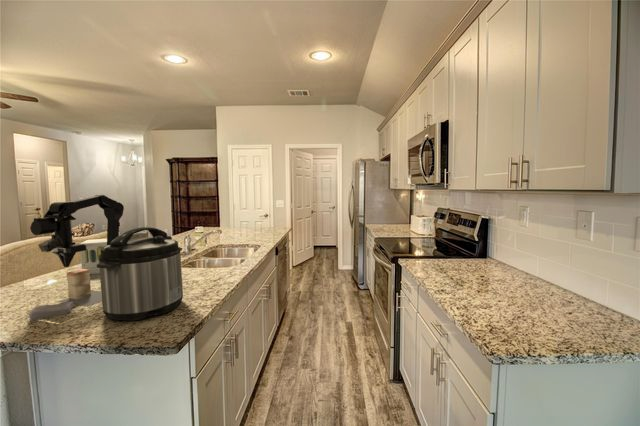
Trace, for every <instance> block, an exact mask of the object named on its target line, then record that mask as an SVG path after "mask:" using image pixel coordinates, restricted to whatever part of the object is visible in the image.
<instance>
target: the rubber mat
mask: <svg viewBox="0 0 640 426" xmlns="http://www.w3.org/2000/svg"><path fill="white" fill-rule="evenodd" d="M63 302H73V304H74V306H75V305H76V306H81V307H82V306H84V307H92V306H94V305H97V304H99V303H102V293H101V291H99V290H93V289H91V295H88V296H85V297H82V298H79V299H71V298H69V297H68V298H64V299H61V300H58V301H57V303H63Z"/></svg>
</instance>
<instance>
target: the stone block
mask: <svg viewBox="0 0 640 426" xmlns="http://www.w3.org/2000/svg"><path fill="white" fill-rule="evenodd" d="M74 307H75V304H73V302H59V303H56V304H42V305H36V306H34V307H33V308H32V309H31V310H30V311H29V312H28V313H29V314H28V315H29V316H28V317H29V320H30V322H35V321H40V320H41V321H42V320H43V319H44V318H50V317H56V316H57V317H58V316H62V315H67V314H70V313H72V309H74Z"/></svg>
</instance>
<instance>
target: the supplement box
mask: <svg viewBox="0 0 640 426" xmlns="http://www.w3.org/2000/svg"><path fill="white" fill-rule="evenodd" d="M79 244H84V245H86V248H87V250H85V251H80V263H81V269H88V270H89V275H95V274H96V275H97V274H99V275H100V268H97V264H98V263H99V255H100V254H101V248H102V247H104V246H107V238H96V239H87V240H85V241H82V242H81V243H79Z"/></svg>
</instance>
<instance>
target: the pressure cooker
mask: <svg viewBox="0 0 640 426" xmlns="http://www.w3.org/2000/svg"><path fill="white" fill-rule="evenodd" d="M143 231H147V232H149V234H150V235H151V236H152V237H142V238H135V239H131V238H132V237H133V236H134V234H138V233H141V232H143ZM182 250H183V247H180V246H179V241H178V240H176V239H173V237H172V236H171V235H168V233H167V232H166V231H163V230H161V229H159V228H155V227H150V226H148V227H147V226H145V227H144V226H143V227H137V228H133V229H132V228H131V229H130V230H127V231H125V232H123V233H122V234H119V236H118V237H116V238H115V239H114V240H112V241H111V242H110V245H107V246H104V247H102V248H101V254H100V255H99V263H98V264H97V268H100V273H99V280H100V281H99V282H100V290H101V293H102V302H101V303H102V312H103V314H104V315H105V316H106V318H108V319H109V320H113V321H138V320H143V319H146V318H147V317H152V316H158V315H162V314H165V313H166V314H167V313H168V312H171V311H172V310H174V309H176V308H177V307H178V306H179V305H180V304H181V303H182V301H183V298H184V291H183V289H184V287H183V271H182V253H181V252H182Z"/></svg>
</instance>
